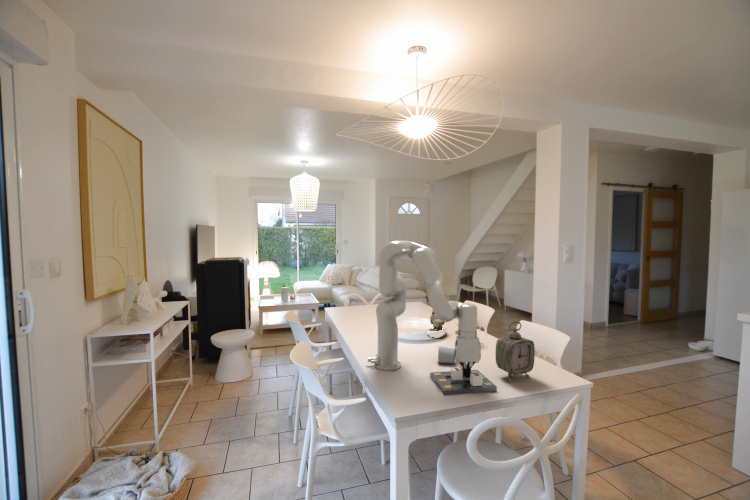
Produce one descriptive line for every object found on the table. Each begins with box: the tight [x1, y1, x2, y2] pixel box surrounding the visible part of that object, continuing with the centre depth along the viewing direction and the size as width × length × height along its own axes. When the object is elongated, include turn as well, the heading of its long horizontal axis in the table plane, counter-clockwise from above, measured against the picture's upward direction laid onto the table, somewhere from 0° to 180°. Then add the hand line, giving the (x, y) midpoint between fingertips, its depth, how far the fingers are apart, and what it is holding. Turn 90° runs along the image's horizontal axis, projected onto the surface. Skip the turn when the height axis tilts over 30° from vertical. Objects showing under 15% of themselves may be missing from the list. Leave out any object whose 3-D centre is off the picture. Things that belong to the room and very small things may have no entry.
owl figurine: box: [427, 309, 447, 340], centre depth 208 cm, size 18×12×17 cm, turn 0°
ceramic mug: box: [437, 345, 455, 365], centre depth 164 cm, size 11×8×8 cm
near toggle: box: [470, 372, 483, 386], centre depth 133 cm, size 4×2×4 cm, turn 99°
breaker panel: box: [429, 369, 498, 396], centre depth 139 cm, size 22×17×3 cm
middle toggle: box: [450, 367, 463, 381], centre depth 138 cm, size 4×2×4 cm, turn 99°
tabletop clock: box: [494, 321, 536, 383], centre depth 145 cm, size 14×9×25 cm, turn 114°
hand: (466, 376), depth 139 cm, fingers closed
